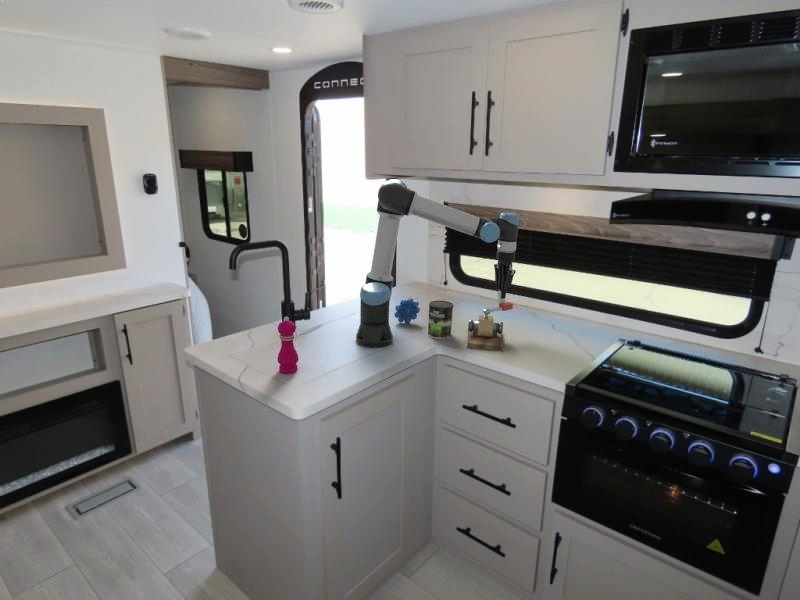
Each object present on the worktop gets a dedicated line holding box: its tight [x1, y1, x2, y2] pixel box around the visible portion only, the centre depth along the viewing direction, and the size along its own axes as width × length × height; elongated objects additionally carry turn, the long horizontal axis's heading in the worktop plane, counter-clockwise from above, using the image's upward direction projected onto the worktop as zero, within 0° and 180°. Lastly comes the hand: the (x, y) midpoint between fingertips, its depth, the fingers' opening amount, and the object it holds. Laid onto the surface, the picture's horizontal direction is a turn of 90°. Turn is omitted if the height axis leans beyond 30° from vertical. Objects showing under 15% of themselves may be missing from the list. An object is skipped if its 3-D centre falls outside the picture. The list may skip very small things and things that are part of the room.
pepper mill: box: [276, 316, 300, 375], centre depth 169 cm, size 7×7×20 cm
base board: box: [466, 330, 504, 351], centre depth 204 cm, size 14×20×2 cm
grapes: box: [394, 297, 421, 324], centre depth 222 cm, size 12×7×12 cm, turn 90°
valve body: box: [467, 313, 504, 338], centre depth 203 cm, size 14×6×10 cm, turn 81°
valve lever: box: [482, 301, 514, 315], centre depth 204 cm, size 16×3×2 cm, turn 124°
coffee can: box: [427, 300, 454, 340], centre depth 207 cm, size 10×10×14 cm
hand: (500, 304), depth 208 cm, fingers closed
